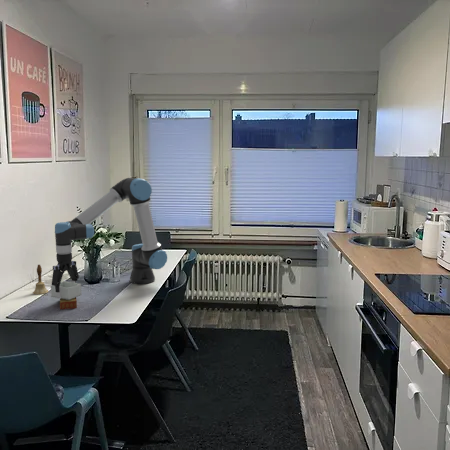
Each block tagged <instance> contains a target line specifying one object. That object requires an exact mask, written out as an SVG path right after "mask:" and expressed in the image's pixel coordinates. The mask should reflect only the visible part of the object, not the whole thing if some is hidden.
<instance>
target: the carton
mask: <svg viewBox="0 0 450 450" xmlns="http://www.w3.org/2000/svg"><path fill="white" fill-rule="evenodd" d="M77 302H78V301H77V297H75V298H73V299H70V300H66V299H60V298H59V310H60V311H61V309H62V310H70V309H77V308H78V305H77V304H78V303H77Z"/></svg>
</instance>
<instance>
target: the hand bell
mask: <svg viewBox="0 0 450 450" xmlns="http://www.w3.org/2000/svg"><path fill="white" fill-rule="evenodd" d="M36 273H37V278H38V279H37V282H36V283H35V288H34V290H33V292H32V294H33V295H44V294H45V295H46V294H47V293H49V291H50V290H49V289H47V287H46V285H45V282H43V281H42V273H43V271H42V266H41V264H37V268H36Z"/></svg>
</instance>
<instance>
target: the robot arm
mask: <svg viewBox="0 0 450 450" xmlns="http://www.w3.org/2000/svg"><path fill="white" fill-rule="evenodd" d="M152 192H153V189H152V185H151V183H150V182H149V181H147V180H146V179H144V178H140V177H138V178H137V177H127V178H124V179H122V180H120V181H118V182H117V183H116V184H114V185H113V186H111V188H109V191H108V192H107V193H106V194H104V195H103V196H102V197H100V198H99V199H98V200H96V201H95V202H94V203H93V204H91V205H90V206H89V207H87V208H86V209H85V210H84V211H82V212H81V213H79V215H77V216H75V217H74V218H73V219H71V220H68V221H61V222H57V223H55V225H54V237H55V253H56V256H55V257H56V261H57V265H52V277H51V285H53V286H55V290H56V293H57V298H56V299H59V300H60V299H61V298H62V293H61V286H60V283H61V282H62V279H63V276H64V274H65V272H67V273H68V275H69V277H70V279H71V280H70V281H69V282H72V283H77V281H78V279H79V278H80V275H79V272H78V267H77V261H76V260H73V253H72V252H73V247H72V241H78V240H88V239H92V238H93V237H94V235H95V229H94V226H93V225H92V223H93V222H95V221H96V220H97V219H98V218H100V217H101V216H102V215H103V214H105V213H106V212H107V211H109V210H110V209H111V208H113V207H114V206H115V205H116V204H117V203H122V202H123V201H124V200H126V199H128V201H129V204H130V205H131V206H132V207H133V210H134V214H135V218H136V221H137V226H138V229H139V233H140V234H139V235H140V239H141V242H142V243H138V244H134V245H132V246H131V262H132V264H131V265H132V266H131V267H132V268H131V274H130V276H129V282H130V283H132V284H135V285H136V284H137V285H139V284H140V285H143V284H145V285H146V284H151V283H154V282H155V280H156V277H155V273H154V271H153V270H161V269H162V268H164V267H165V265H166V263H167V261H168V255H167V252H166V251H164V250H163V248H162V243H160V242H159V241H158V238H157V234H156V230H155V225H154V220H153V216H152V213H151V209H150V201H151V194H152ZM57 283H58V284H57Z"/></svg>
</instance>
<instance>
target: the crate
mask: <svg viewBox="0 0 450 450" xmlns="http://www.w3.org/2000/svg"><path fill="white" fill-rule="evenodd" d="M57 284H58V283H57ZM60 286H61V293H62V298H61V299H66V300H70V299H73V298H75V297H76V298H78V297H81V296H82V294H83V293H82V283H77V282H76V283H72V282H70V281H66V280H64V281H61V283H60ZM50 297H51V298H55V299H58V298H57V293H56V290H55V286H53V285H52V284H50Z"/></svg>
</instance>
